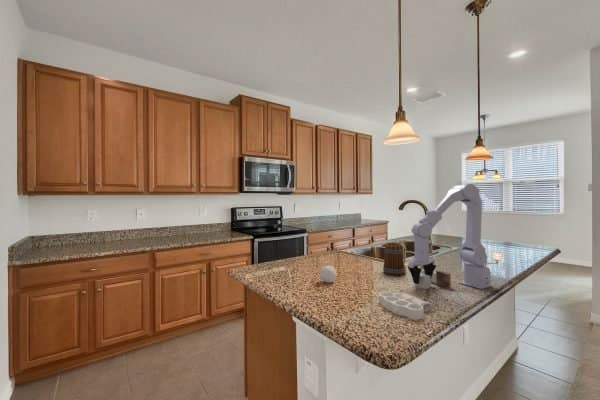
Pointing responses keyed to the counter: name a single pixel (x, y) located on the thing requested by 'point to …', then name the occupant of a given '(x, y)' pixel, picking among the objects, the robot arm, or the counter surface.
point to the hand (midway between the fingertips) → (422, 282)
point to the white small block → (424, 281)
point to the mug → (393, 259)
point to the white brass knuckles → (404, 304)
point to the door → (432, 275)
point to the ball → (328, 274)
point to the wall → (443, 279)
